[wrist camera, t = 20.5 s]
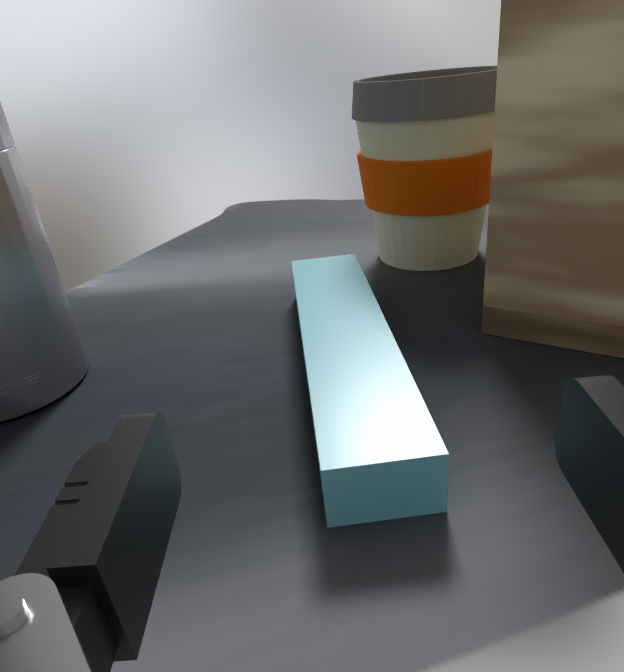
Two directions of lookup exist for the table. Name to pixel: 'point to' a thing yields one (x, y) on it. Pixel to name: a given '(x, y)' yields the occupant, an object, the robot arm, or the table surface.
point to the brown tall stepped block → (558, 177)
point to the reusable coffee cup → (426, 162)
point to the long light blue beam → (364, 402)
